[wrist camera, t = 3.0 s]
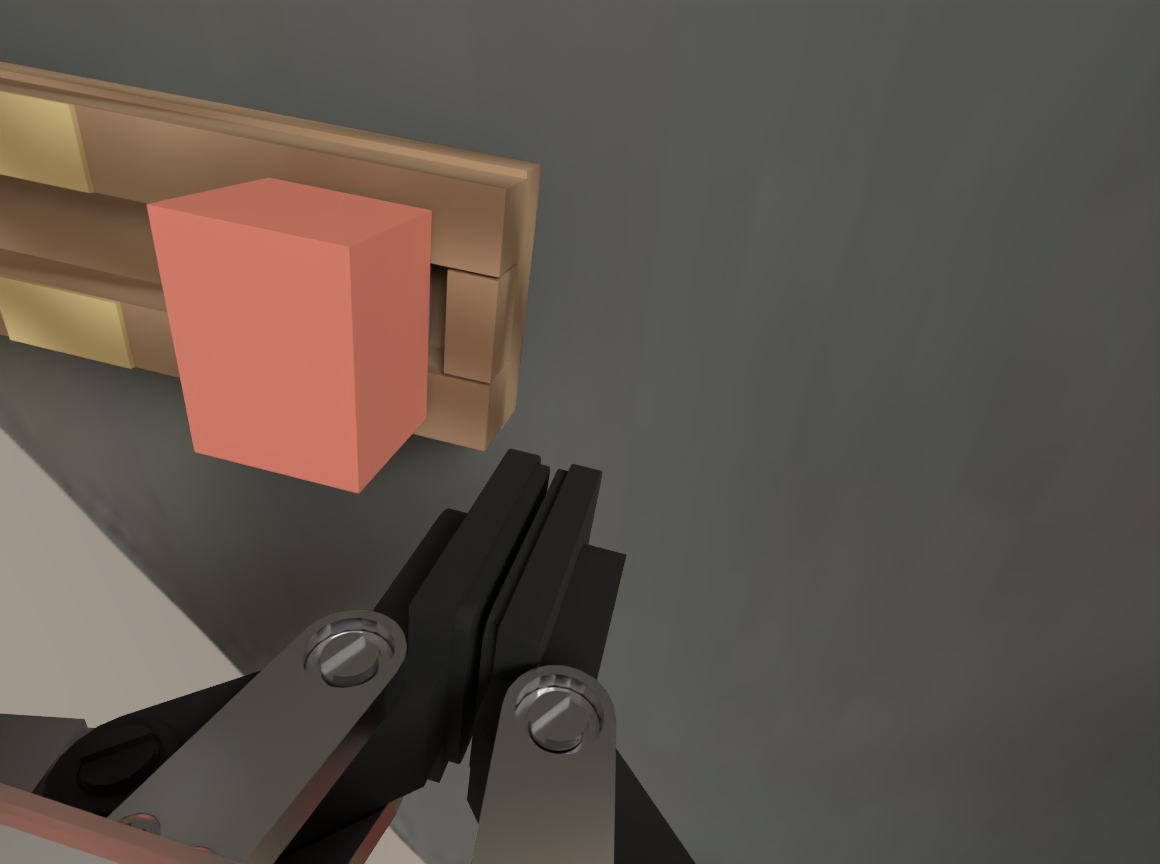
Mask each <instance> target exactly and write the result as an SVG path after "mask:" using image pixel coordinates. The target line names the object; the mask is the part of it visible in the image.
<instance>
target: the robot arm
mask: <svg viewBox="0 0 1160 864" xmlns="http://www.w3.org/2000/svg"><path fill="white" fill-rule="evenodd" d="M549 474H550V467H549V466H545V465H541V457H540V456H539V455H535V454H531V453H527V452H522V451H518V450H514V449H509V450H508V451H507V453H506V454H505V456H504V457H503V459H502V460H501V462H500V464H499V465H498V467H497V468H496V470H495V471H494V473H493V474H492V476H491V478H490V479H489V481H488V482H487V484H486V485H485V487H484V489H483V490H482V492H481V493H480V495H479V496H478V498H477V500H476V501H475V503H474V504H473V506H472V507H471V509H470V511H469V512H468V513H464V512H460V511H457V510H453V509H449V508H448V509H446V510H444V511H443V512H442V513H441V515H440V516H439V517H438V519H437V520H436V522H435V523H434V524H433V526H432V527H431V529H430V530H429V532H428V533H427V534H426V536H425V537H424V539H423V540H422V542H421V543H420V544H419V546H418V547H417V549H416V550H415V552H414V553H413V554H412V556H411V557H410V559H409V560H408V562H407V563H406V564H405V566H404V567H403V569H402V570H401V571H400V573H399V574H398V576H397V577H396V579H395V580H394V581H393V583H392V584H391V586H390V587H389V589H388V590H387V591H386V593H385V594H384V596H383V597H382V599H381V600H380V601H379V603H378V604H377V606H376V607H375V609H374V610H373V611H370V610H347V611H341V612H336V613H333V614H331V615H328V616H326V617H324V618H321V619H319V620H317V621H316V622H314V623H313V624H312V625H310V626H309V627H308V628H306V629H305V630H304V631H303V632H302V633H301V634H300V635H298V636H297V637H296V638H295V639H294V640H293V641H292V642H291V643H290V644H289V645H288V646H287V647H286V648H285V649H284V650H283V651H282V652H281V653H280V654H278V655H277V656H276V657H275V658H274V659H273V660H272V661H271V662H270V663H269V664H268V665H267V666H266V667H265V668H264V669H263V670H261V671H258V672H255V673H252V674H249V675H246V676H243V677H240V678H237V679H234V680H231V681H228V682H225V683H222V684H219V685H216V686H213V687H210V688H206V689H204V690H200V691H197V692H194V693H191V694H188V695H185V696H182V697H179V698H176V699H173V700H170V701H167V702H164V703H161V704H158V705H154V706H151V707H149V708H145V709H142V710H139V711H136V712H133V713H130V714H127V715H124V716H121V717H118V718H116V719H114V720H112V721H109V722H107V723H105V724H102V725H100V726H98V727H97V728H87V725H86V722H85V720H84V719H73V718H58V717H57V718H56V717H42V716H27V715H13V714H0V864H364V863H365V861H366V860H367V858H368V857H369V855H370V854H371V852H372V851H373V849H374V847H375V846H376V844H377V843H378V841H379V840H380V838H381V837H382V835H383V834H384V832H385V830H386V829H387V827H388V826H389V824H390V823H391V821H392V820H393V818H394V817H395V815H396V813H397V811H398V809H399V806H400V804H401V802H402V798H403V796H405V795H407V794H409V793H411V792H413V791H415V790H417V789H420V788H422V787H424V785H425V783H426V781H427V779H429V780H432V781H435V782H438V783H439V782H440V780H441V778H442V775H443V773H444V771H445V768H446V766H447V764H448V761H450V762H454V763H457V764H460V763H461V761H462V759H463V757H464V755H465V752H466V750H467V748H468V745H469V743H470V740H471V738H472V745H471V755H470V777H469V787H468V796H467V801H468V803H469V805H470V807H471V809H472V811H473V814H474V816H475V818H476V820H477V822H478V824H479V825H478V830H477V835H476V840H475V845H474V850H473V855H472V860H471V864H695V862H694V861H693V859H692V858H691V856H690V855H689V853H688V852H687V851H686V849H685V848H684V846H683V845H682V843H681V842H680V840H679V839H678V838H677V836H676V835H675V833H674V832H673V830H672V829H671V827H670V826H669V824H668V823H667V822H666V820H665V819H664V817H663V816H662V814H661V813H660V811H659V810H658V808H657V807H656V806H655V804H654V803H653V801H652V800H651V798H650V797H649V795H648V794H647V793H646V791H645V790H644V788H643V787H642V785H641V784H640V782H639V781H638V779H637V778H636V777H635V775H634V774H633V772H632V771H631V769H630V768H629V766H628V765H627V763H626V762H625V761H624V759H623V758H622V756H621V755H620V753H619V752H618V750H617V749H616V715H615V709H614V704H613V702H612V700H611V698H610V697H609V695H608V693H607V691H606V690H605V689H604V688H603V687H602V686H601V684H600V683H599V682H598V681H597V677H598V673H599V668H600V664H601V660H602V656H603V652H604V647H605V643H606V639H607V635H608V630H609V626H610V622H611V618H612V614H613V609H614V605H615V601H616V597H617V592H618V588H619V584H620V580H621V576H622V571H623V567H624V563H625V559H626V554H622V553H618V552H614V551H610V550H606V549H602V548H599V547H595V546H591V545H588V543H589V538H590V533H591V528H592V523H593V518H594V513H595V508H596V503H597V498H598V493H599V488H600V483H601V478H602V471H600V470H596V469H592V468H587V467H583V466H579V465H575V464H572V465H571V467H570V469H569V471H565V470H561V469H558V470H557V472H556V474H555V476H554V478H553V481H552V483H551V485H550V487H549V489H548V491H547V487H548V481H549Z"/></svg>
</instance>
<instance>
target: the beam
mask: <svg viewBox="0 0 1160 864" xmlns="http://www.w3.org/2000/svg"><path fill="white" fill-rule="evenodd" d="M541 167H542V164H537V163H532V162H526V161H521V160H516V159H511V158H505V157H500V156H495V155H490V154H484V153H479V152H474V151H469V150H463V149H458V148H453V147H448V146H442V145H437V144H432V143H427V142H421V141H416V140H411V139H406V138H400V137H395V136H390V135H385V134H379V133H374V132H369V131H363V130H358V129H353V128H348V127H342V126H337V125H332V124H327V123H321V122H316V121H311V120H306V119H300V118H295V117H290V116H285V115H279V114H274V113H269V112H264V111H258V110H253V109H248V108H243V107H237V106H232V105H227V104H222V103H216V102H211V101H206V100H201V99H195V98H190V97H185V96H180V95H174V94H169V93H164V92H159V91H153V90H148V89H143V88H138V87H132V86H127V85H122V84H117V83H111V82H106V81H101V80H96V79H90V78H85V77H80V76H75V75H69V74H64V73H59V72H54V71H48V70H43V69H38V68H33V67H27V66H22V65H17V64H12V63H6V62H1V61H0V335H4V336H9V338H10V340H13V341H17V342H22V343H26V344H30V345H34V346H38V347H42V348H46V349H51V350H55V351H59V352H63V353H67V354H71V355H75V356H80V357H84V358H88V359H92V360H96V361H100V362H104V363H109V364H113V365H117V366H121V367H125V368H129V369H132V368H134V367H137V368H141V369H146V370H150V371H154V372H158V373H162V374H166V375H170V376H175V377H179V378H180V374H179V369H178V364H177V359H176V354H175V349H174V344H173V338H172V333H171V328H170V323H169V318H168V313H167V308H166V303H165V297H164V292H163V287H162V282H161V277H160V272H159V267H158V261H157V256H156V251H155V246H154V241H153V236H152V231H151V226H150V220H149V215H148V210H147V205H146V204H149V203H154V202H159V201H163V200H168V199H172V198H177V197H182V196H186V195H191V194H196V193H200V192H205V191H209V190H214V189H219V188H223V187H228V186H233V185H237V184H242V183H246V182H251V181H256V180H260V179H265V178H274V179H279V180H284V181H289V182H294V183H299V184H304V185H309V186H314V187H318V188H323V189H328V190H333V191H338V192H343V193H348V194H353V195H358V196H363V197H368V198H373V199H378V200H383V201H388V202H393V203H398V204H403V205H408V206H413V207H418V208H423V209H428V210H432V221H431V259H430V263H432V264H433V274H432V310H431V338H430V339H429V340H428V375H427V414H426V419H425V420H424V421H423V422H422V424H421V425H420V426H419V427H418V428H417V429H416V430H415V431H414V433H413V434H415V435H420V436H424V437H428V438H432V439H436V440H440V441H444V442H449V443H453V444H457V445H461V446H465V447H469V448H473V449H478V450H482V451H485V450H486V448H487V447H488V445H489V444H490V442H491V441H492V439H493V438H494V436H495V435H496V433H497V432H498V430H499V429H500V428H501V429H503V427H504V425H505V424H506V422H507V421H508V419H509V418H510V416H511V415H512V413H513V412H514V410H515V409H516V400H517V390H518V381H519V372H520V362H521V353H522V344H523V335H524V325H525V316H526V307H527V297H528V288H529V279H530V269H531V260H532V251H533V242H534V232H535V223H536V214H537V204H538V195H539V186H540V176H541Z"/></svg>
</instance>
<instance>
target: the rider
mask: <svg viewBox="0 0 1160 864" xmlns="http://www.w3.org/2000/svg"><path fill="white" fill-rule="evenodd" d="M146 205H147V210H148V215H149V220H150V226H151V231H152V236H153V241H154V246H155V251H156V256H157V261H158V267H159V272H160V277H161V282H162V287H163V292H164V297H165V303H166V308H167V313H168V318H169V323H170V328H171V333H172V338H173V344H174V349H175V354H176V359H177V364H178V369H179V374H180V380H181V385H182V390H183V395H184V400H185V405H186V410H187V415H188V421H189V426H190V431H191V436H192V441H193V446H194V451H195V452H197V453H201V454H205V455H209V456H213V457H217V458H221V459H224V460H228V461H232V462H236V463H240V464H244V465H248V466H252V467H256V468H260V469H264V470H268V471H272V472H276V473H280V474H284V475H288V476H292V477H296V478H299V479H303V480H307V481H311V482H315V483H319V484H323V485H327V486H331V487H335V488H339V489H343V490H347V491H351V492H355V493H360V492H361V491H362V490H363V489H364V487H365V486H366V485H367V484H368V483H369V482H370V481H371V480H372V478H373V477H374V476H375V475H376V474H377V473H378V472H379V471H380V469H381V468H382V467H383V466H384V465H385V464H386V463H387V462H388V461H389V459H390V458H391V457H392V456H393V455H394V454H395V453H396V452H397V450H398V449H399V448H400V447H401V446H402V445H403V444H404V443H405V441H406V440H407V439H408V438H409V437H410V436H411V435H412V434H413V433H414V431H415V430H416V429H417V428H418V427H419V426H420V425H421V424H422V422H423V421H424V420H425V419H426V414H427V375H428V340H429V339H430V338H431V310H432V274H433V264H432V263H430V259H431V221H432V210H428V209H423V208H418V207H413V206H408V205H403V204H398V203H393V202H388V201H383V200H378V199H373V198H368V197H363V196H358V195H353V194H348V193H343V192H338V191H333V190H328V189H323V188H318V187H314V186H309V185H304V184H299V183H294V182H289V181H284V180H279V179H274V178H265V179H260V180H256V181H251V182H246V183H242V184H237V185H233V186H228V187H223V188H219V189H214V190H209V191H205V192H200V193H196V194H191V195H186V196H182V197H177V198H172V199H168V200H163V201H159V202H154V203H149V204H146Z"/></svg>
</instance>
